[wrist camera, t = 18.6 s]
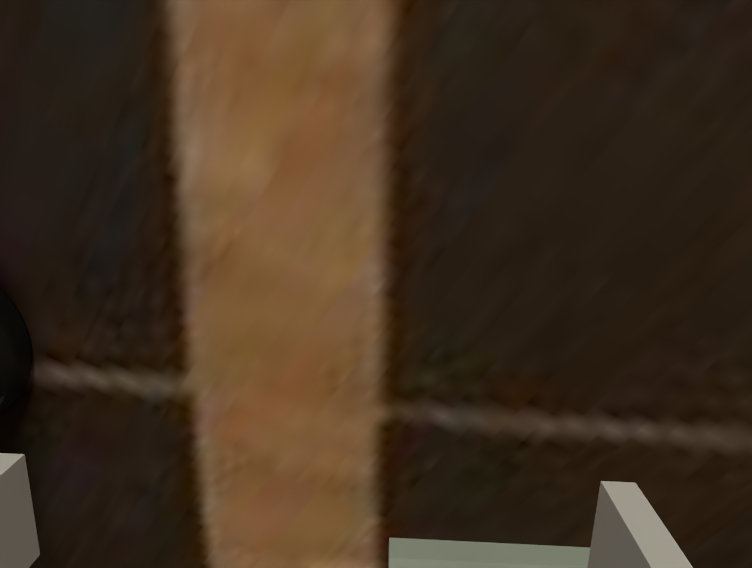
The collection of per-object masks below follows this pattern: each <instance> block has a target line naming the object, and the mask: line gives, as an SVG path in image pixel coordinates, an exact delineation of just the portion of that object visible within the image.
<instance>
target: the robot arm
mask: <svg viewBox="0 0 752 568" xmlns="http://www.w3.org/2000/svg"><path fill="white" fill-rule="evenodd" d="M30 367H31V347H30V341H29V337H28V333H27V330H26V327H25V325H24V322H23V320H22V318H21V316H20V314H19V313H18V311H17V309H16V308H15V306H14V305H13V303H12V302H11V301H10V299H9V298H8V297H7V296H6V295H5V293H4V292H3V291H2V290H1V289H0V413H1V412H3V411H4V410H5V409H7V408H8V407H9V406H10V405H12V403H13V402H14V401H15V400H16V399H17V398H18V397H19V395H20V394H21V392H22V391H23V389H24V387H25V385H26V382H27V380H28V377H29V373H30ZM39 555H40V551H39V545H38V538H37V532H36V525H35V518H34V512H33V505H32V499H31V492H30V486H29V479H28V473H27V466H26V460H25V454H9V453H0V568H29V567H30V566H31V565H32V563H33V562H34V561H35V560H36V559H37V558H38V556H39ZM587 568H693V567H692V566H691V564H690V563H689V561H688V560H687V558H686V557H685V555H684V554H683V552H682V551H681V549H680V548H679V546H678V545H677V543H676V542H675V541H674V539H673V538H672V536H671V535H670V533H669V532H668V530H667V529H666V527H665V526H664V524H663V523H662V521H661V520H660V518H659V517H658V515H657V514H656V512H655V511H654V509H653V508H652V506H651V505H650V504H649V502H648V501H647V499H646V498H645V496H644V495H643V493H642V492H641V490H640V489H639V487H638V486H637V484H636V483H629V482H608V481H601V484H600V490H599V497H598V503H597V509H596V516H595V522H594V528H593V535H592V541H591V547H590V554H589V560H588V566H587Z"/></svg>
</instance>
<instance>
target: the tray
mask: <svg viewBox="0 0 752 568" xmlns="http://www.w3.org/2000/svg"><path fill="white" fill-rule="evenodd" d="M589 554H590V548H587V547H567V546H547V545H527V544H507V543H487V542H466V541H446V540H426V539H406V538H389V558H388V568H587V566H588V560H589Z"/></svg>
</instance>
